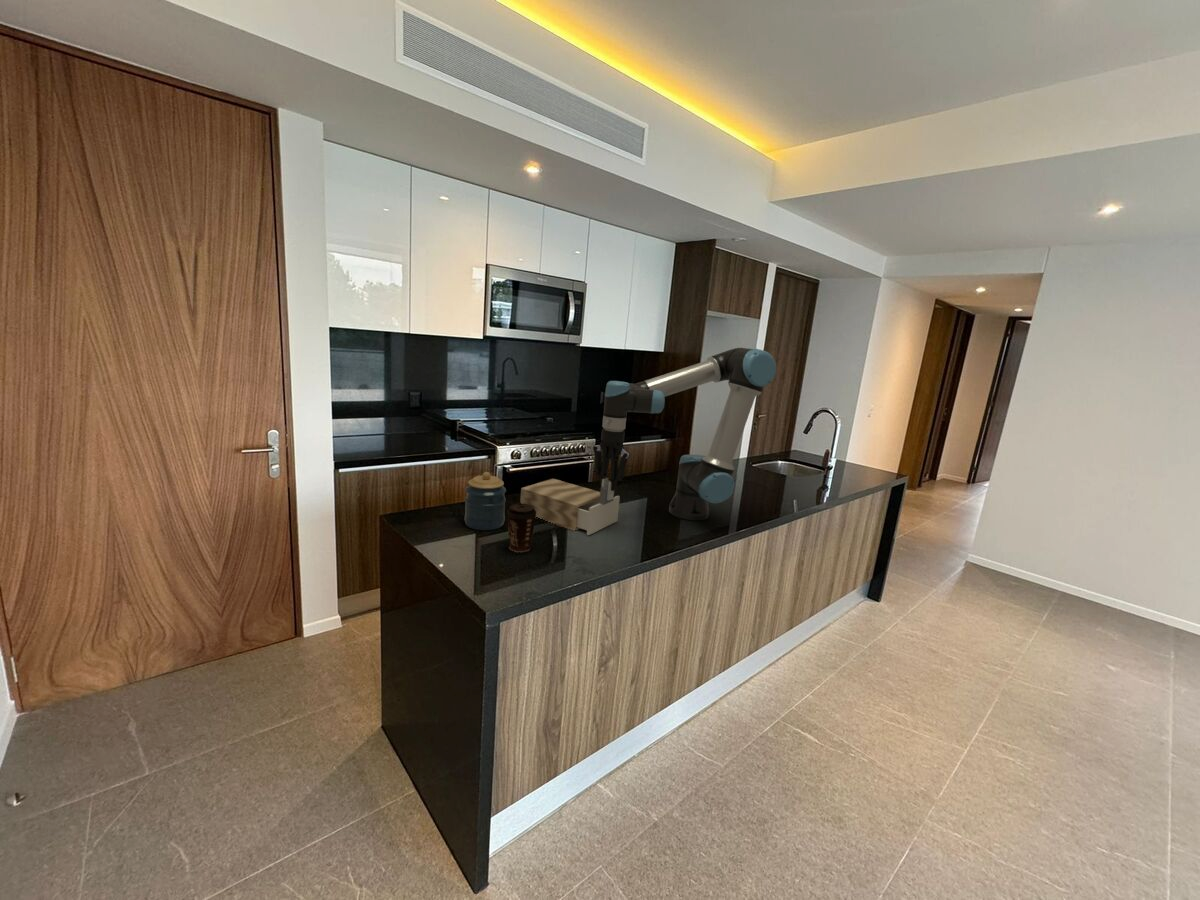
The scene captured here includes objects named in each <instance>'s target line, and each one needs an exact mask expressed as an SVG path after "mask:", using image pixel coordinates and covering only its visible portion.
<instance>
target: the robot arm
mask: <svg viewBox="0 0 1200 900" xmlns="http://www.w3.org/2000/svg"><path fill="white" fill-rule="evenodd" d="M776 374H777V363H776V361H775V359H774V356H773V355H772V354H771V353H770V352H768V351H766V350H764V349H760V348H759V349H758V348H745V347H736V348H731V349H728V350H725V351H723V352H720V353H717V354H713V355H711V356H709V357H707V359H706V360H705V361H702V362H698V363H695V364H692V365H689V366H687V367H686V366H685V367H683V368H680V369H677V370H675V371H671V372H668V373H665V374H662V375H659V376H655V377H652V378H650V379H649V378H648V379H645V380H643V381H640V382H637V383H629V382H626V381H619V380H609V381H608V382H607V383H606V385H605V386H606V387H605V392H604V401H603V403H604V405H603V416H602V425H601V426H602V429H601V435H600V440H601V442H600V443H599V445H594V446H593V447H592V450H593V452H594V467H595V468H594V469H595V471H594V474H595V476H598V477H599V478H600V479H599V487H600V489H601V488H602V487H604V486H607V485H608V493H607V500H611V499H613V494H614V495H615V491H616V490H617V483H618V482H619V481H622V480H623V479H624V476H625V474H624V473H625V471H626V466H627V462H628V459H629V458H630V456H631V453H630V452H627V451H626V450H625V447H624V442H625V435H626V432H625V429H626V424H627V415H628V413H645V414H651V415H652V414H661V413H662V411H663V410H664V408H665V401H666V400H665V397H668V396H671V395H673V394H677V393H680V392H683V391H687V390H689V389H693V388H695V387H698V386H702V385H705V384H708V383H710V382H714V383H715V384H716V383H720V382H724V381H728V382H727V385H728V386H729V389H730V390H729V393H728V396H727V398H726V402H725V405H724V409H723V411H722V413H721V416H720V419H719V423H718V426H717V428H716V431H715V434H714V437H713V440H712V442H711V445H710V448H709V451H708V454H707V455H703V454H701V455H700V454H683V455H682V456H681V457H680V460H679V464H678V465H679V466H678V472H677V478H676V479H677V482H676V486H675V487H676V490H675V493H674V495H673V498H672V499H671V501H670V503H669V507H668V513H670V515H672V516H674V517H676V518H679V519H683V520H688V521H704V520H706V519H708V518H709V516H710V515H709V514H710V509H709V503H712V504H720V503H723V502H724V501H727V500H728V499H729V498H730V497H731V496H732V494H733V492H734V490H735V486H736V485H735V482H734V478H733V474H734V471H735V467H734V465H733V461H734V458H735V456H736V453H737V449H738V447H739V444H740V441H741V439H742V435H743V433H744V431H745V427H746V424H747V422H748V418H749V416H750V413H751V410H752V407H753V404H754V401H755V399H756V397H757V396H760V395H761V394H762V393H763V391H764V388H765V386H767V385H768V384H770V383H772V381H773V380H774V378H775V377H776ZM609 466H610V479H609V478H608V469H609Z"/></svg>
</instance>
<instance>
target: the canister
mask: <svg viewBox="0 0 1200 900" xmlns="http://www.w3.org/2000/svg"><path fill="white" fill-rule="evenodd" d="M467 483H468V485H467V486H466V487H465V488H464V489H465V492H466V496H465V497H464V501H465V504H464V506H465V508H464V510H465V512H464V523H465V526H466V527H468V528H470V529H473V530H478V531H492V530H497V529H499V528H502V527H503V526H504V524H505V520H506V516H505V513H506V512H505V510H506V501H507V500H506V497H505V494H506V492H507V489H506V487H504V484H505V483H504V481H503V480H502V479H500V478H499V477H498V476H495V475H491V473H490V472H489V471H484V472H483V473H482V475H477V476H474V477H473V478H471V479H469V480H468V482H467Z"/></svg>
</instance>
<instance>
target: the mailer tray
mask: <svg viewBox="0 0 1200 900" xmlns="http://www.w3.org/2000/svg"><path fill="white" fill-rule="evenodd" d="M599 492H600V498H599V499H597V500H594V501H592V502H589V503H587V504H584V505H582V506H580V507H578V513H577V525H576V527H578V528H580V529H581V530H585V531H586V535H587V536H590V535H592V534H594V533H596V532H598V531H600V530H602V529H604V528H606V527H608V526H610V525H612V524H615V523H616V522H618V517H619V509H620V501H621V500H620V499H621V498H620V495H616V496H615V493H614V494H613V499H611V500H607V493H608V485H607V486H604V487H602V488H601V487H600V491H599Z"/></svg>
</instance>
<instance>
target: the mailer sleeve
mask: <svg viewBox="0 0 1200 900" xmlns="http://www.w3.org/2000/svg"><path fill="white" fill-rule="evenodd" d="M599 498H600V491H597V490H594V489H591V488H588V487H584V486H580V485H577V484H573V483H569V482H566V481H564V480H563V481H562V480H560V479H557V478H549V479H546V480H543V481H540V482H537V483H534V484H531V485H526V486H524V487H521V488H520V501H519V503H522V504H523V503H525V504H529V505H532V506H534V509H535V511H536V517H538V518H540V519H543V520H545V521H544V522H546V521H548V522H547V523H549V522H551V523H550V524H552V523H553V524H552V525H555V524H556V526H557V527H561V528H563V527H564V529H566V528H567V530H569V529H570V531H572V530H573V531H572V532H576V531H578V530H579V529H581V528H578V527H576V525H577V513H578V507H580V506H582V505H584V504H587V503H589V502H592V501H594V500H597V499H599ZM538 518H537V519H538ZM540 519H539V520H540ZM543 520H542V521H543ZM575 530H576V531H575Z"/></svg>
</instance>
